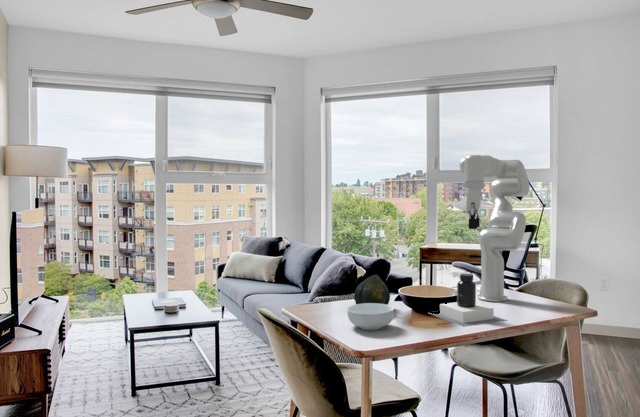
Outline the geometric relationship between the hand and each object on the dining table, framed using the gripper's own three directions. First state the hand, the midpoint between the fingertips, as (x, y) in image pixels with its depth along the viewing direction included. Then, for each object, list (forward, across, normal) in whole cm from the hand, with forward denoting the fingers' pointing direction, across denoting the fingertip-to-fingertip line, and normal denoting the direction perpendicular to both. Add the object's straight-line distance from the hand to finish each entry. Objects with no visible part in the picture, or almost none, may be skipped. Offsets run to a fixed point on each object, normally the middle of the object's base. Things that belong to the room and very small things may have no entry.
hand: (474, 228), depth 207 cm
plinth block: (+33, +16, -1) cm, 36 cm away
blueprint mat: (+33, +16, -1) cm, 37 cm away
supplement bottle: (+29, +15, -1) cm, 33 cm away
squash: (+34, +15, -39) cm, 53 cm away
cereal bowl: (+34, +40, -32) cm, 61 cm away
